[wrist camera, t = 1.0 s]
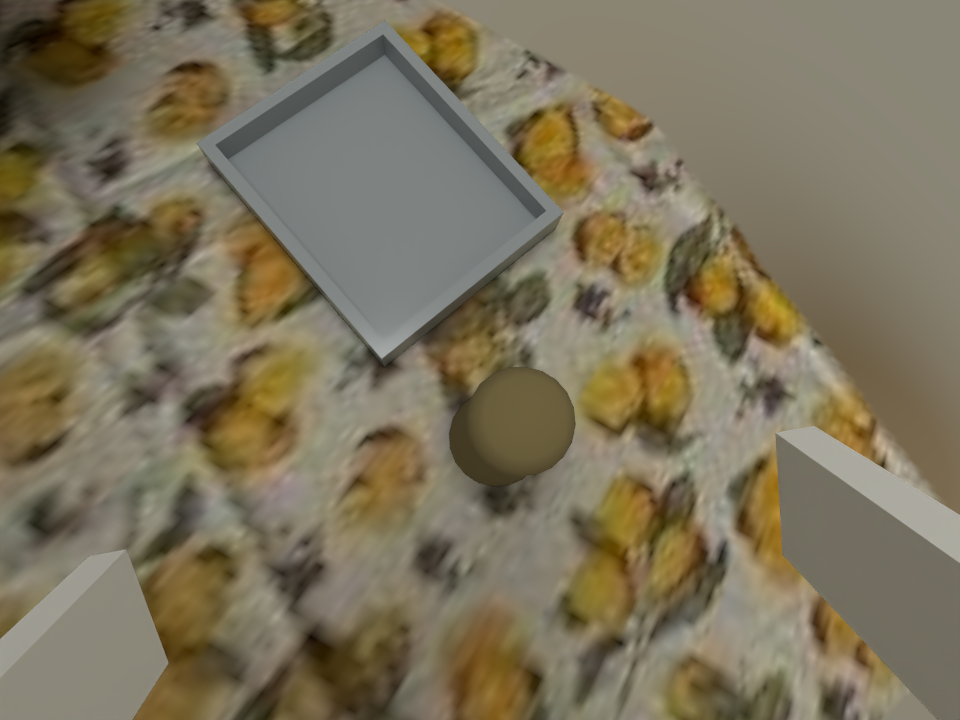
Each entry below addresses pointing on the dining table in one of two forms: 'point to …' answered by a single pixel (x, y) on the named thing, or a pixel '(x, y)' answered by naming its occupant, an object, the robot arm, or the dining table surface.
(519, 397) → the cork
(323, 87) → the tray
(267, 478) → the dining table surface
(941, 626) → the robot arm
